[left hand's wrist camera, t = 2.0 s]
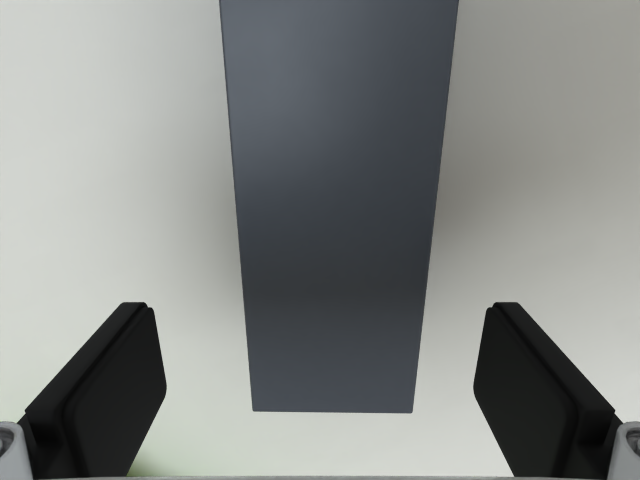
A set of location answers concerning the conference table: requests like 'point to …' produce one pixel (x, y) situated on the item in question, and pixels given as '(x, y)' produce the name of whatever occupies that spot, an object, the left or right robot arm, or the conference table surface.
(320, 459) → the conference table surface
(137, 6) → the conference table surface
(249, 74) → the post
